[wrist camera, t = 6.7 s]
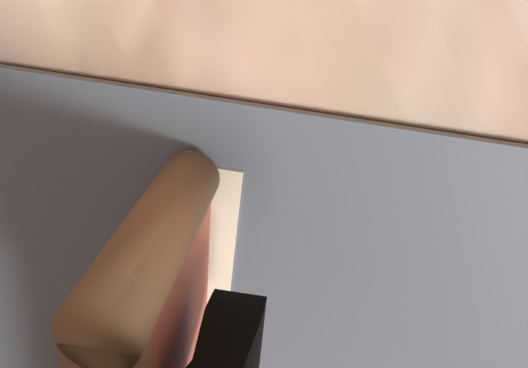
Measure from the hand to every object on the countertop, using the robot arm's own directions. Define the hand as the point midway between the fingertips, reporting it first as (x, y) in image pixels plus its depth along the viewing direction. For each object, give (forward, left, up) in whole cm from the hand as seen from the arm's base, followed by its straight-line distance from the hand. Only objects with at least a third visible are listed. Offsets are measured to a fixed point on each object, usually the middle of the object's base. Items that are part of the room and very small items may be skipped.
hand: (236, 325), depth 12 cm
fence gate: (-2, +2, -2) cm, 3 cm away
